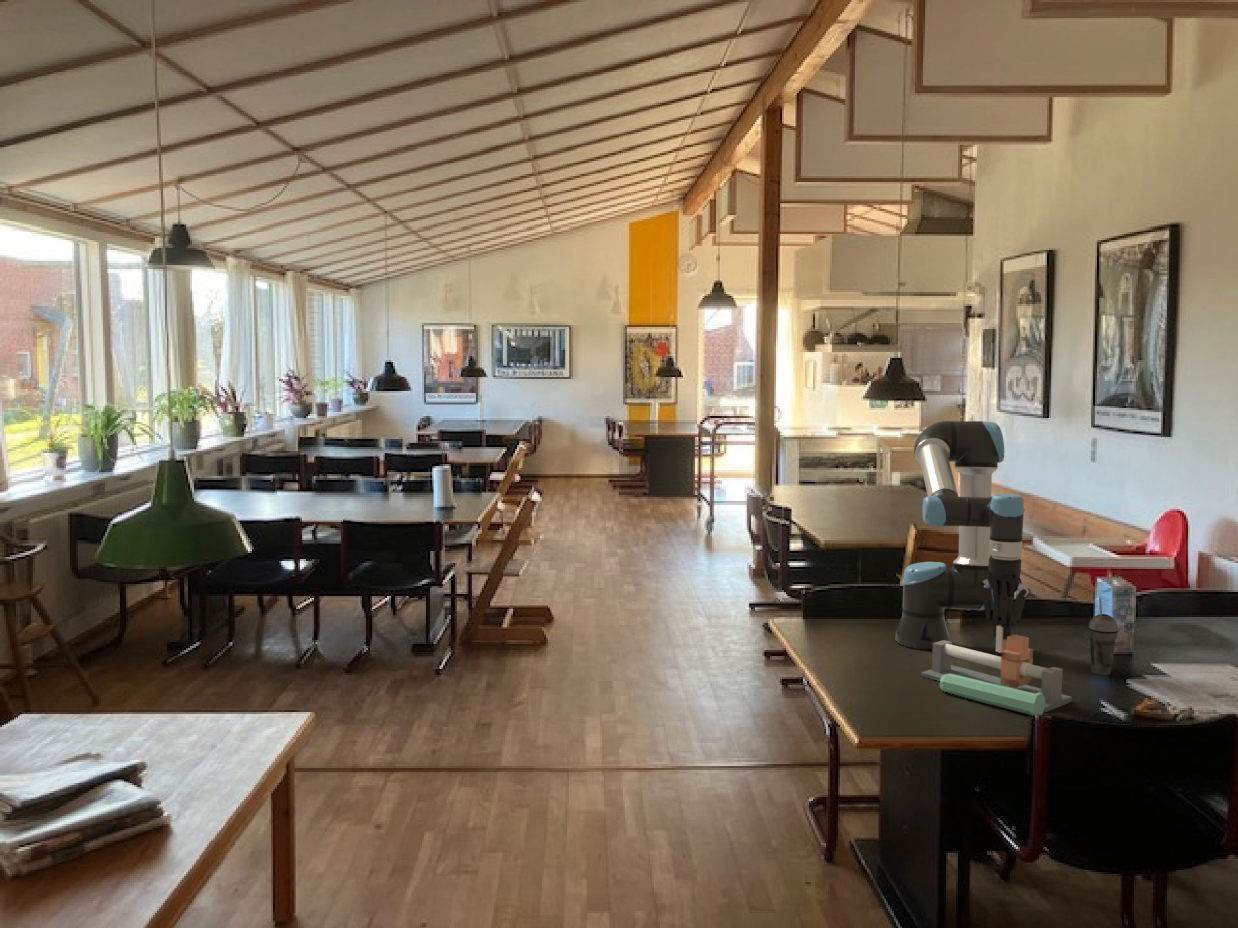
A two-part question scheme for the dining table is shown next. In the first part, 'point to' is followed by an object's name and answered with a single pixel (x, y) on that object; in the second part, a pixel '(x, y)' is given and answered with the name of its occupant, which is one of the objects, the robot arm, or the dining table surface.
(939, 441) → the robot arm
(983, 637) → the dining table surface
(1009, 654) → the collar
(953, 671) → the rail
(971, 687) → the light green long prism
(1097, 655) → the beverage cup
